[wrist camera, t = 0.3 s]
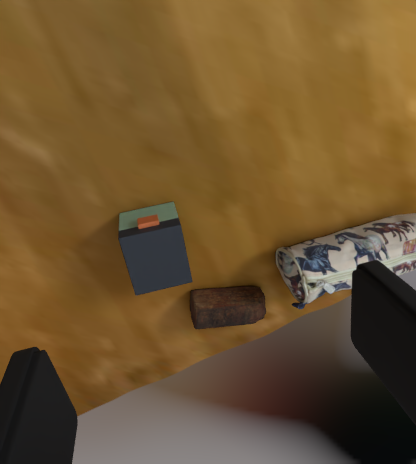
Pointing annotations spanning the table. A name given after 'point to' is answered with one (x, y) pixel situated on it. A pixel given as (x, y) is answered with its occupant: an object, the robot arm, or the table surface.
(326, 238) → the pencil case
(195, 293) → the brick
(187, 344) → the table surface
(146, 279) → the lunchbox
